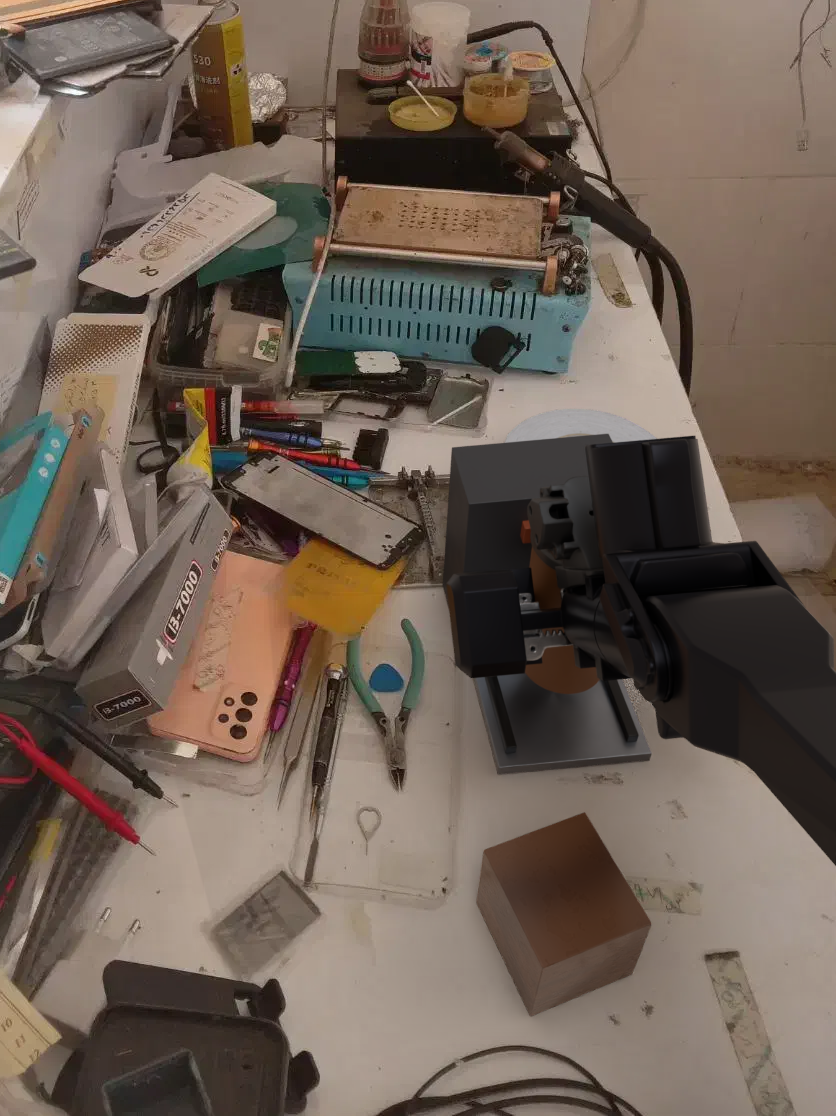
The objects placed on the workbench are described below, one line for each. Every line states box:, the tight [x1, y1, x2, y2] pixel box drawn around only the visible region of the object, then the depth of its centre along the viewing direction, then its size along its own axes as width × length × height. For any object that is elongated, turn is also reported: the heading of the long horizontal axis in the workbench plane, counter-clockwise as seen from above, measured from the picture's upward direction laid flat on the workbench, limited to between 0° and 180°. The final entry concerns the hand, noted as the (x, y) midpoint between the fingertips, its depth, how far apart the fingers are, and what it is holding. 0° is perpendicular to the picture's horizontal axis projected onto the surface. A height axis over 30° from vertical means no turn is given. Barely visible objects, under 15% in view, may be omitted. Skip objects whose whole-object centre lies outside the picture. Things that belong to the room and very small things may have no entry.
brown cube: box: [476, 812, 653, 1017], centre depth 61 cm, size 7×7×7 cm
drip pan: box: [472, 673, 653, 775], centre depth 75 cm, size 11×11×2 cm
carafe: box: [525, 534, 600, 694], centre depth 69 cm, size 8×6×13 cm
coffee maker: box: [442, 434, 613, 609], centre depth 78 cm, size 7×12×16 cm, turn 94°
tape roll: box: [503, 408, 658, 443], centre depth 90 cm, size 15×15×5 cm
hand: (563, 598), depth 70 cm, fingers closed on carafe, 6 cm apart
